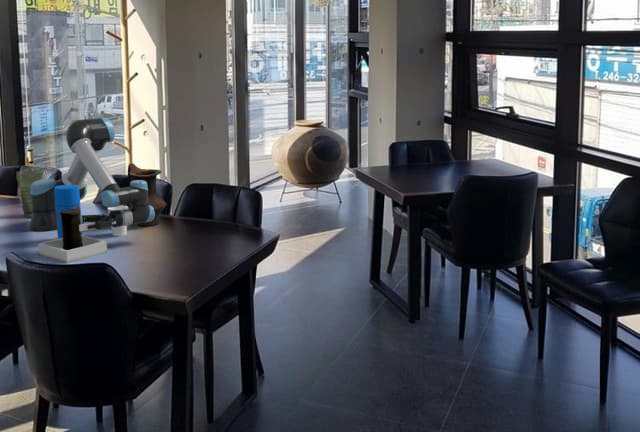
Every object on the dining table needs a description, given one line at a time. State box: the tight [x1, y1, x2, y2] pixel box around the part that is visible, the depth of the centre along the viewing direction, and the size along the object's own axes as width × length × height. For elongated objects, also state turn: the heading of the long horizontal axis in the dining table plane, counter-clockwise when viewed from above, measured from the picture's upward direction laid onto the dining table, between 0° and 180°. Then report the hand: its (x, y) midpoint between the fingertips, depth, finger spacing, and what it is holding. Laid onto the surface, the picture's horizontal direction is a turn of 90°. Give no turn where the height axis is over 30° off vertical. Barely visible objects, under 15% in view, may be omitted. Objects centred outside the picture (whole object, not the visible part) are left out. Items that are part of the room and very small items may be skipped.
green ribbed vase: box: [15, 167, 45, 218], centre depth 385 cm, size 11×12×25 cm
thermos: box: [54, 185, 83, 239], centre depth 339 cm, size 11×11×25 cm
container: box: [60, 209, 83, 250], centre depth 318 cm, size 9×9×18 cm
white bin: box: [37, 234, 108, 264], centre depth 319 cm, size 20×20×5 cm
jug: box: [127, 162, 167, 227], centre depth 369 cm, size 21×18×30 cm
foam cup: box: [107, 205, 128, 237], centre depth 350 cm, size 10×9×13 cm
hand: (73, 225), depth 317 cm, fingers open, 13 cm apart
